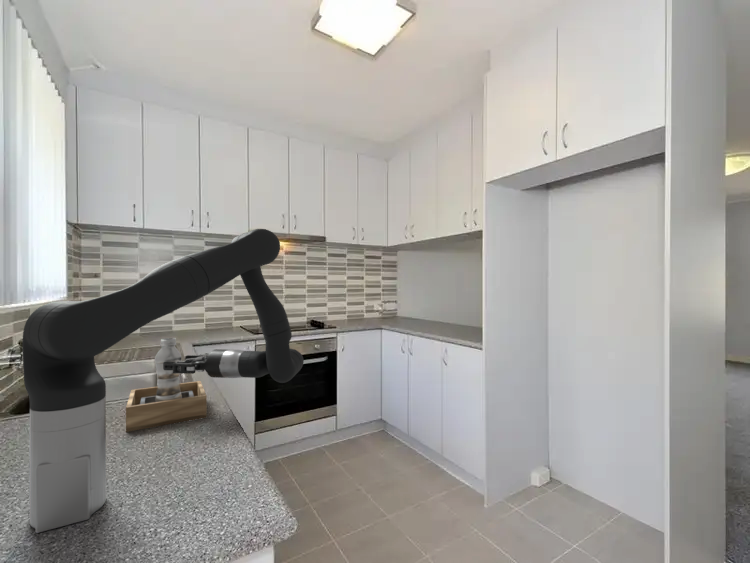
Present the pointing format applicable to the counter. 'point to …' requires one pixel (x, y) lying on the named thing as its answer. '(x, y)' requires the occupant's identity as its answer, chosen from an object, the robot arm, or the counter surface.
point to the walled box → (165, 407)
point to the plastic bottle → (167, 371)
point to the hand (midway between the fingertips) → (175, 362)
